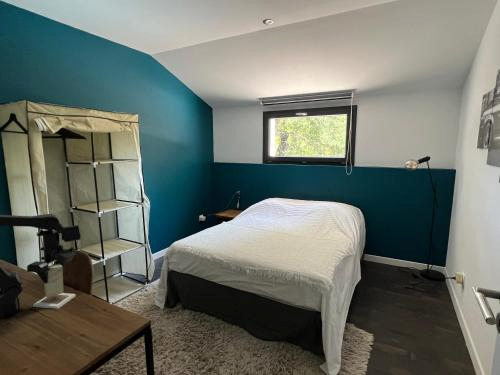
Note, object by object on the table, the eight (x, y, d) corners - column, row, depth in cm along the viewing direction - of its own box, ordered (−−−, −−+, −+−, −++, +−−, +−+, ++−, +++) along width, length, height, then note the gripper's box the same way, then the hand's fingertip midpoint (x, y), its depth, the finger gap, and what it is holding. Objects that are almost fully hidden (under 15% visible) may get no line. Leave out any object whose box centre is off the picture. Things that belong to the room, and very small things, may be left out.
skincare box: (46, 298, 113) (44, 270, 111) (44, 293, 116) (42, 267, 114) (64, 292, 117) (62, 266, 116) (61, 288, 120) (60, 263, 119)
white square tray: (57, 308, 112) (57, 305, 112) (33, 306, 113) (33, 303, 113) (75, 296, 122) (75, 293, 122) (53, 294, 123) (52, 291, 123)
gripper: (50, 253, 104) (53, 291, 106) (84, 238, 122) (86, 271, 124) (24, 251, 105) (27, 289, 107) (62, 237, 123) (63, 269, 125)
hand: (53, 279), depth 116 cm, fingers closed on skincare box, 7 cm apart
